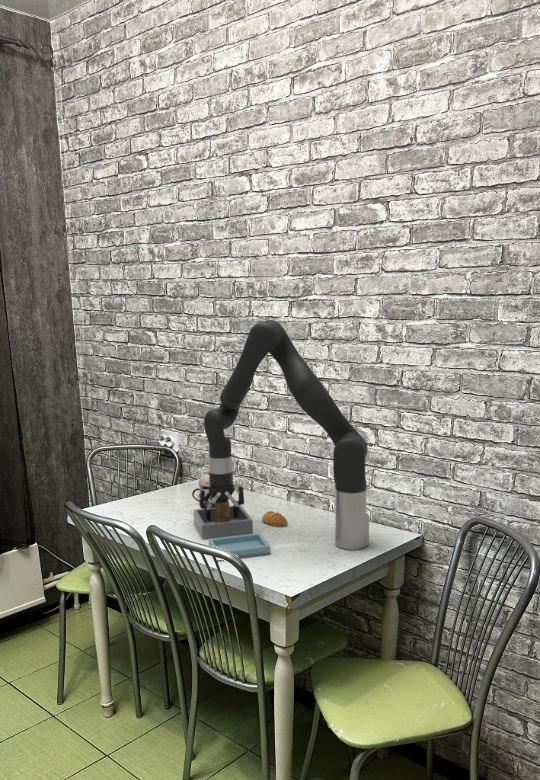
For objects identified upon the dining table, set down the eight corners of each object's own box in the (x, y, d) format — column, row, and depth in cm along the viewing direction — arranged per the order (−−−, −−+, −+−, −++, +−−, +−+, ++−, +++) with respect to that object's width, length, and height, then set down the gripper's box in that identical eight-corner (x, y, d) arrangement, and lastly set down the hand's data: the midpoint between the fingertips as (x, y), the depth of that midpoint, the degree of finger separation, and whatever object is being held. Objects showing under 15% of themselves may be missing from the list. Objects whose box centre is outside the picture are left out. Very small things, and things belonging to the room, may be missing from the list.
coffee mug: (229, 507, 227) (228, 480, 225) (225, 514, 218) (224, 486, 217) (197, 506, 228) (196, 479, 226) (192, 514, 219) (191, 486, 218)
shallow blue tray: (260, 541, 193) (260, 533, 193) (270, 554, 183) (270, 546, 183) (209, 547, 189) (208, 539, 189) (216, 561, 179) (215, 553, 178)
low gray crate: (241, 518, 214) (240, 504, 213) (252, 535, 198) (252, 519, 198) (194, 524, 209) (193, 509, 209) (202, 541, 194) (202, 525, 193)
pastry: (293, 527, 206) (292, 515, 205) (276, 531, 202) (276, 520, 201) (275, 519, 213) (275, 508, 213) (259, 524, 209) (259, 512, 209)
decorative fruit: (194, 496, 240) (193, 470, 238) (209, 491, 246) (208, 466, 245) (211, 501, 234) (210, 474, 232) (226, 495, 240) (226, 470, 239)
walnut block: (227, 525, 206) (226, 498, 205) (230, 529, 202) (229, 502, 201) (215, 526, 205) (214, 499, 204) (217, 530, 201) (216, 503, 200)
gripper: (200, 475, 196) (202, 525, 198) (245, 470, 199) (246, 520, 202) (196, 469, 203) (198, 517, 205) (239, 465, 207) (241, 512, 209)
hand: (222, 518), depth 203 cm, fingers open, 8 cm apart
